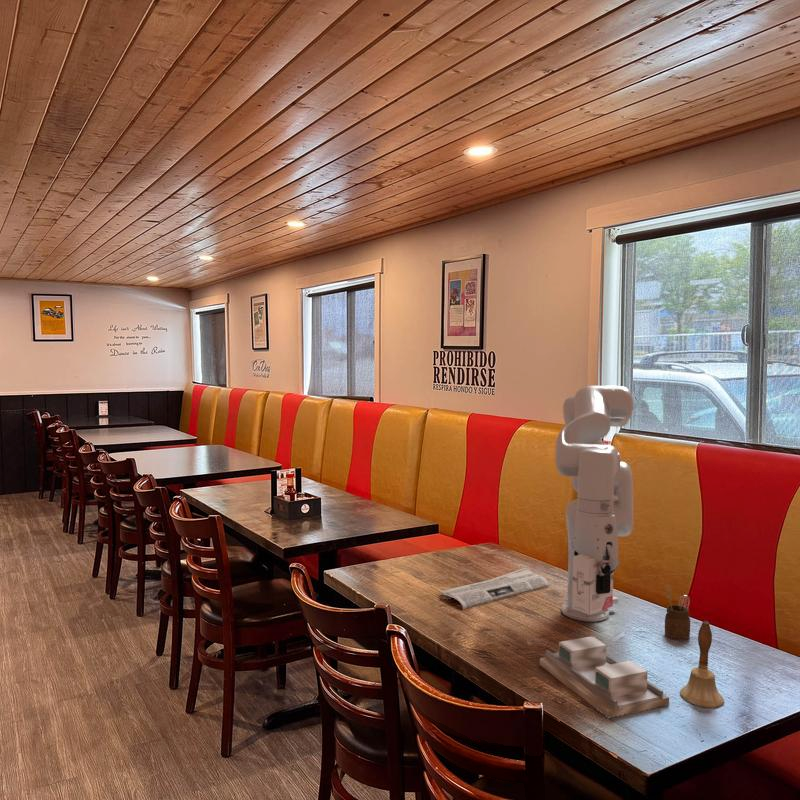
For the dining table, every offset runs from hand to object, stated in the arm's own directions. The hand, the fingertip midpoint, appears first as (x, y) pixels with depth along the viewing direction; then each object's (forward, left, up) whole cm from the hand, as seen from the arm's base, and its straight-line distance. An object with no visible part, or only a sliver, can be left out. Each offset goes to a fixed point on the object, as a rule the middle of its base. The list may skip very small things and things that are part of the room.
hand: (593, 587), depth 143 cm
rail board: (0, +3, -20) cm, 20 cm away
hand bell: (-16, +15, -20) cm, 30 cm away
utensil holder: (-34, -11, -20) cm, 41 cm away
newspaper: (-6, -55, -21) cm, 59 cm away
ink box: (0, 0, -5) cm, 5 cm away
